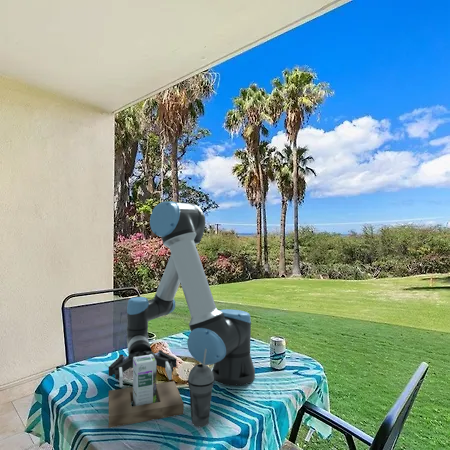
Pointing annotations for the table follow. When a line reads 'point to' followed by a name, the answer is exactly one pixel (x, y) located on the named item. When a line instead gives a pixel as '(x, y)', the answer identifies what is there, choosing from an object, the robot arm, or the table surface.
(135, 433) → the table surface
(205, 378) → the beverage cup
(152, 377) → the syrup box
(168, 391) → the walnut board
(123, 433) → the table surface
